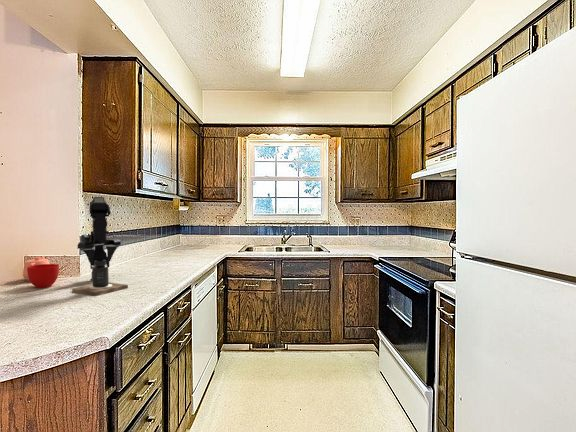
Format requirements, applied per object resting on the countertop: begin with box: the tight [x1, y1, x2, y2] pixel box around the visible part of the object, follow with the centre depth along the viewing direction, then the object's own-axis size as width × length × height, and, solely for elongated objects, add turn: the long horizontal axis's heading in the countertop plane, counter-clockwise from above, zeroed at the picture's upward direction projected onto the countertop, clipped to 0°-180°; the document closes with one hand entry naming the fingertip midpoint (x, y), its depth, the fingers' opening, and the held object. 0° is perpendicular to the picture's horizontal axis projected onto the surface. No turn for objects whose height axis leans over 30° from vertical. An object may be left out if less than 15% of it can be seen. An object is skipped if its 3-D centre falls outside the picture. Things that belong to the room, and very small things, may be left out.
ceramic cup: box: [27, 263, 60, 289], centre depth 184 cm, size 13×17×10 cm
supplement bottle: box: [91, 260, 110, 287], centre depth 175 cm, size 7×7×12 cm
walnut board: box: [71, 281, 129, 297], centre depth 175 cm, size 17×16×2 cm
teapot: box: [22, 255, 51, 282], centre depth 200 cm, size 20×12×12 cm, turn 17°
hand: (100, 262), depth 175 cm, fingers open, 9 cm apart
